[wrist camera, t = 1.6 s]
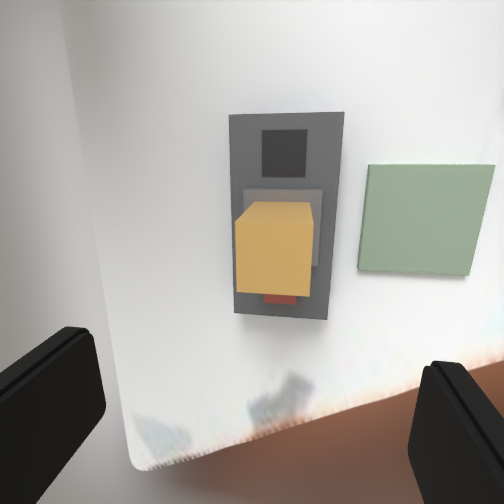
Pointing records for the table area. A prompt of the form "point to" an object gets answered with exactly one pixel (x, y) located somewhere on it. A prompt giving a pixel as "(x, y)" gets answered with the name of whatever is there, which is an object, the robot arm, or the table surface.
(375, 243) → the mat
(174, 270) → the table surface
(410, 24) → the table surface
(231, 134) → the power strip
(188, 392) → the table surface
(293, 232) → the plug
